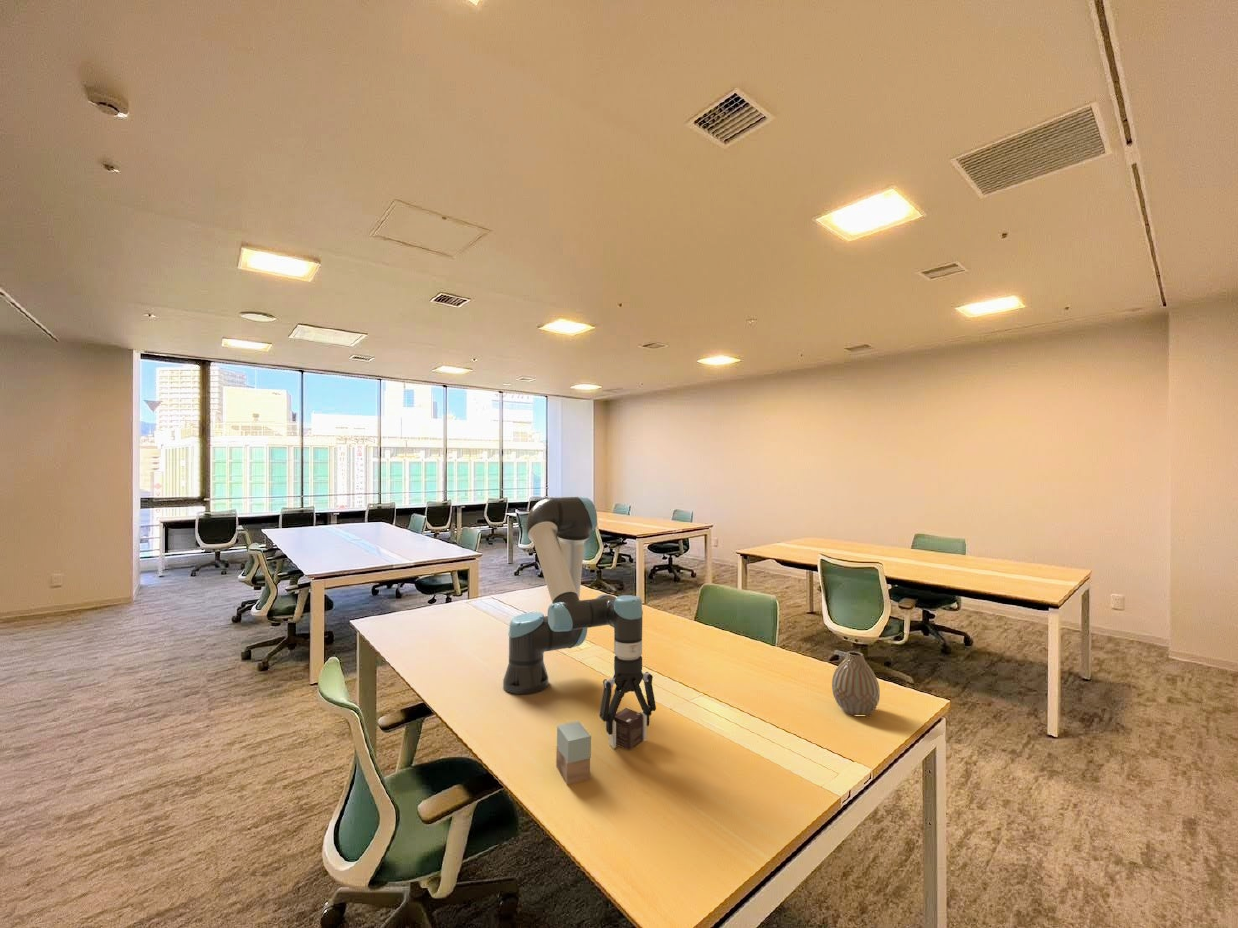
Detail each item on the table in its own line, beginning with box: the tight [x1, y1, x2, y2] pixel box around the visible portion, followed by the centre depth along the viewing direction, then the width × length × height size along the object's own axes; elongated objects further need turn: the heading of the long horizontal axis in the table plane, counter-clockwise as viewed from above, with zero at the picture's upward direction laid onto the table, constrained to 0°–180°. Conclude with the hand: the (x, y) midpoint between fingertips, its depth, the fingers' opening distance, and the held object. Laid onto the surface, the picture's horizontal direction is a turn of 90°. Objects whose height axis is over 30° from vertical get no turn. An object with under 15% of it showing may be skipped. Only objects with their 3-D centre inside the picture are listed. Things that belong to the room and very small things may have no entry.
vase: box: [831, 650, 881, 716], centre depth 150 cm, size 13×13×18 cm
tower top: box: [556, 720, 592, 763], centre depth 118 cm, size 8×6×5 cm
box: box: [614, 707, 644, 751], centre depth 132 cm, size 6×6×7 cm
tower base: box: [555, 746, 591, 786], centre depth 118 cm, size 8×6×5 cm
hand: (628, 741), depth 132 cm, fingers open, 8 cm apart
